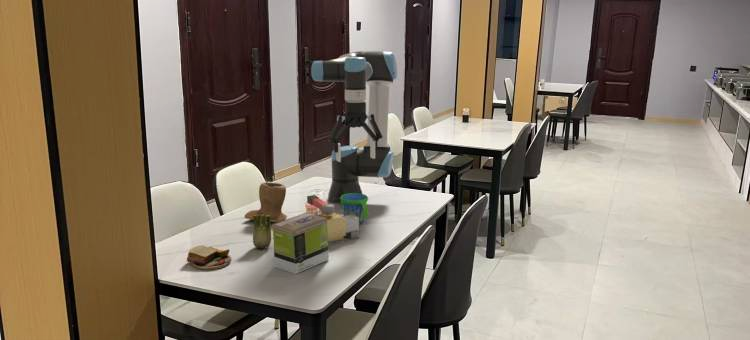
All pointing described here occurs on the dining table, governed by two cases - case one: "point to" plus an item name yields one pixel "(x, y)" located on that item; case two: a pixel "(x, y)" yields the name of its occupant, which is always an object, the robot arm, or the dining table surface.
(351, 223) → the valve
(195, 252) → the toy sandwich meal
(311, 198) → the lever
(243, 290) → the dining table surface
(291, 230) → the tea box
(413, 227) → the dining table surface
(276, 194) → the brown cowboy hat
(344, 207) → the snack cup
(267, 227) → the fennel bulb
